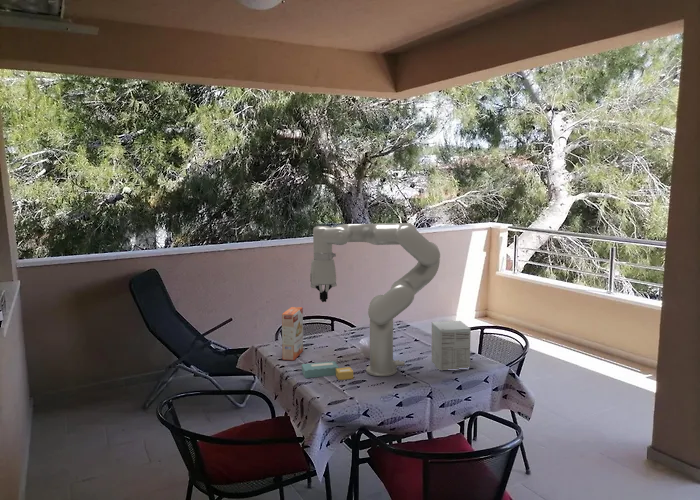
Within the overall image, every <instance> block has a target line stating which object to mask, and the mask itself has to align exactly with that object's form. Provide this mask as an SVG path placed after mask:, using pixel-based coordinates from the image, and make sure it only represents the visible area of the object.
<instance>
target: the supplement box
mask: <svg viewBox="0 0 700 500" xmlns="http://www.w3.org/2000/svg"><path fill="white" fill-rule="evenodd" d="M471 332H472V331H471V327H469V326H468V325H466V324H465V323H464V322H462V321H461V320H450V321H449V320H448V321H432V322H431V362H432V364H433V363H434V364H435V365H434V364H433V365H434V367H436V369H439V370H448V369H459V368H468V367H471ZM439 370H438V371H439Z"/></svg>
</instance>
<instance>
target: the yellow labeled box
mask: <svg viewBox="0 0 700 500" xmlns="http://www.w3.org/2000/svg"><path fill="white" fill-rule="evenodd" d="M335 376H336V378H337V380H338V381H344V380H345V381H346V380H352V379H353V380H354V370H353V369H352V368H351V366H348V367H346V366H345V367H339V368H336V375H335Z"/></svg>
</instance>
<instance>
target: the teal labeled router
mask: <svg viewBox="0 0 700 500" xmlns="http://www.w3.org/2000/svg"><path fill="white" fill-rule="evenodd" d="M336 368H340V367H339V365H338V364H337V362H336V361H335V360H334V361H333V360H332V361H324V362H313V363H303V364H301V373H302V375H303V376H304V378H305V379H308V378H309V379H312V378H321V377H322V378H323V377H329V376H330V377H331V376H336Z"/></svg>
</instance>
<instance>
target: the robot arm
mask: <svg viewBox="0 0 700 500" xmlns="http://www.w3.org/2000/svg"><path fill="white" fill-rule="evenodd" d="M312 231H313V233H312V234H313V235H312V237H313V238H312V239H313V244H312V245H313V259H312V260H311V262H310V269H309V270H310V272H309V273H310V275H309V279H310V285H309V286H310V288H311V289H316V290H318V291H319V300H320V301H321V302H322V303H324V302H325V303H327V300H328V298H329V297H328V296H329V295H328V292H329V291H330V290H331V289H332V288H335V287H337V272H336V271H337V270H336V265H335V260H334V257H336V256H337V253H335V252H333V245H336V246H344V245H346V244H347V243H367V244H368V243H369V244H371V245H376V246H385V245H386V246H388V245H392V246H393V245H394V246H395V245H396V246H398V245H400V246H401V248H403V250H405V251H406V252H407V253H408V254H409V255H410V256H412V257H413V258H414V259H415V260H416V261H417V263H416V264H415V266H414V267H412V268H411V269H410V270H409V271H408V272H407V273H406V274H404V275H402V277H401V278H399V279H398V280H397V281H395V282H394V283H392V284H391V287H390V289H389V290H388V291H387V292H385V293H384V294H378V295H375V296H374V297H373V298H372V299H371V301H370V303H369V305H368V311H367V315H368V318H369V365H368V366H367V367H366V368H365V371H366V373H367V374H368V375H371V376H374V377H390V376H393V375H395V374H397V372H398V369H397V368H398V367H404V366H405V361H403V360H401V361H400V359H396V360H394V319H395V318H396V317H397V316H398V315H400V314H401V313H402V312H403V311H405V310H406V309H407V308H409V307H410V306H411V304H412V303H413V301H414V299H415V295H416V294H417V293H419V292H420V291H421V290H422V289H423V288H425V286H427V285H428V284H429V283H430V282H432V280H433V279H434V278H435V277H436V274H437V273H438V271H439V267H440V264H441V263H440V261H441V252H440V250H439V248H438V246H437V244H436V243H434V242H432V241H429V240H428V239H427V238H426V237H425V236H424V235H422V234H421V233H420V231H418V229H417V228H416V227H415V226H414V225H413V224H412V223H408V222H400V223H399V222H396V223H394V222H393V223H392V222H391V223H390V222H389V223H388V222H387V223H348V224H347V223H344V224H339V225H337V226H332V227H331V226H329V225H317V226H314V227H313V229H312ZM323 286H324V289H323Z"/></svg>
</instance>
